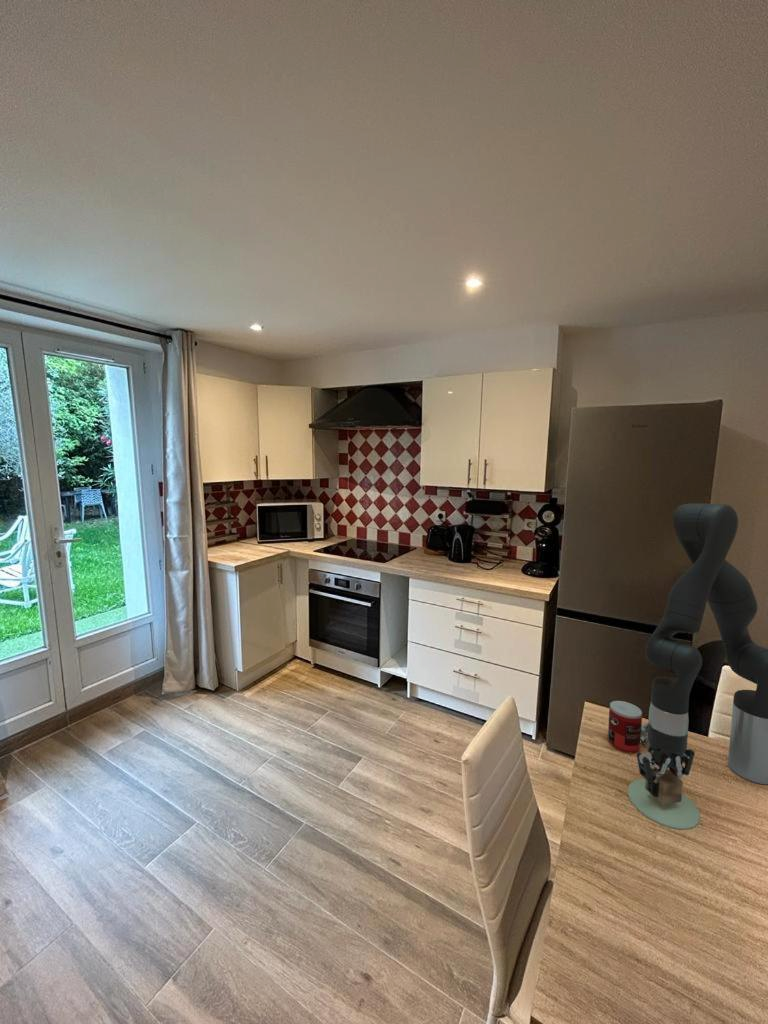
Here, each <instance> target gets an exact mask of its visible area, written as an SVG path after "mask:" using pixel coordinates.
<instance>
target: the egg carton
mask: <svg viewBox="0 0 768 1024" xmlns="http://www.w3.org/2000/svg"><path fill="white" fill-rule="evenodd" d="M645 733H648V722H647V723H644V724H642V725H641V739H640V741H641V742H640V743H642V742H644V743H645V744H644V743H643V744H644V747H646V748H645V749H646V750H648V749H649V747H650V742H649V740H648V737H646V734H645Z"/></svg>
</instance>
